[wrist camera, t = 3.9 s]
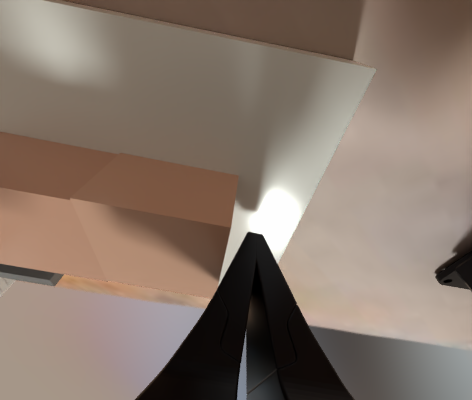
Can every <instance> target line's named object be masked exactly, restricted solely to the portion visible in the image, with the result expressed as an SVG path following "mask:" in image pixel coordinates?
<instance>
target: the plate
mask: <svg viewBox="0 0 472 400" xmlns="http://www.w3.org/2000/svg"><path fill="white" fill-rule="evenodd" d="M376 70H377V69H375V68H372V67H370V66H367V65H364V64H361V63H359V62H356V61H352V60H348V59H343V58H338V57H333V56H328V55H323V54H319V53H314V52H309V51H304V50H299V49H294V48H290V47H285V46H280V45H275V44H270V43H265V42H261V41H256V40H251V39H246V38H241V37H236V36H232V35H227V34H222V33H217V32H212V31H207V30H202V29H198V28H193V27H188V26H183V25H178V24H173V23H169V22H164V21H159V20H154V19H149V18H144V17H140V16H135V15H130V14H125V13H120V12H115V11H111V10H106V9H101V8H96V7H91V6H86V5H82V4H77V3H72V2H67V1H62V0H0V132H5V133H10V134H15V135H20V136H26V137H31V138H36V139H41V140H46V141H52V142H57V143H62V144H67V145H72V146H78V147H83V148H88V149H93V150H99V151H104V152H109V153H114V154H120V153H124V154H130V155H135V156H140V157H145V158H150V159H156V160H161V161H166V162H171V163H176V164H181V165H187V166H192V167H197V168H202V169H207V170H213V171H218V172H223V173H228V174H233V175H238V176H239V178H238V184H237V191H236V198H235V205H234V212H233V218H232V225H231V230H230V235H229V239H228V244H227V248H226V253H225V257H224V261H223V266H222V270H221V275H220V279H219V284H220V283H221V281H222V279H223V277H224V275H225V273H226V271H227V269H228V268H229V266H230V264H231V262H232V260H233V258H234V256H235V254H236V253H237V251H238V249H239V247H240V245H241V243H242V241H243V240H244V238H245V236H246V234H247V232H254V233H259V234H263V235H264V237H265V239H266V241H267V244H268V246H269V248H270V250H271V252H272V254H273V256H274V258H275V260H276V262H277V264H278V262H279V260H280V258H281V256H282V254H283V252H284V251H285V249H286V247H287V245H288V243H289V241H290V239H291V237H292V235H293V233H294V231H295V229H296V227H297V225H298V223H299V221H300V219H301V217H302V215H303V213H304V211H305V209H306V207H307V205H308V203H309V201H310V200H311V198H312V196H313V194H314V192H315V190H316V188H317V186H318V184H319V182H320V180H321V178H322V176H323V174H324V172H325V170H326V168H327V166H328V164H329V162H330V160H331V158H332V156H333V154H334V152H335V150H336V149H337V147H338V145H339V143H340V141H341V139H342V137H343V135H344V133H345V131H346V129H347V127H348V125H349V123H350V121H351V119H352V117H353V115H354V113H355V111H356V109H357V107H358V105H359V103H360V101H361V99H362V98H363V96H364V94H365V92H366V90H367V88H368V86H369V84H370V82H371V80H372V78H373V76H374V74H375V72H376ZM219 284H218V286H219Z"/></svg>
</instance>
